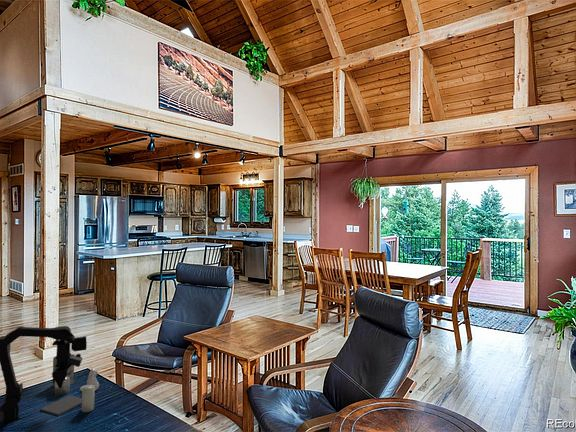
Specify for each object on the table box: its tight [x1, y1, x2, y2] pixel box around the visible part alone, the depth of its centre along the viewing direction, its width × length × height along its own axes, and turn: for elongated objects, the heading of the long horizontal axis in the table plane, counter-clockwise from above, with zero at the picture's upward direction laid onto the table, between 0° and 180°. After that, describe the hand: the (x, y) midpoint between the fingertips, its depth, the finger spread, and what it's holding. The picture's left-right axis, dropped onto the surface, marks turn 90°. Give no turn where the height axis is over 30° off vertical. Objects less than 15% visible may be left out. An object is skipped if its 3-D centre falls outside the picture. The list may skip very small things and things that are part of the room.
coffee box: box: [52, 353, 75, 387], centre depth 213 cm, size 9×6×16 cm
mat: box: [40, 394, 82, 417], centre depth 187 cm, size 16×13×1 cm
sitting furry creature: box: [79, 368, 100, 392], centre depth 205 cm, size 10×9×12 cm
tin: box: [54, 375, 71, 396], centre depth 202 cm, size 7×7×8 cm
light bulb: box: [81, 384, 95, 413], centre depth 184 cm, size 6×6×11 cm
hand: (62, 384), depth 182 cm, fingers open, 9 cm apart
